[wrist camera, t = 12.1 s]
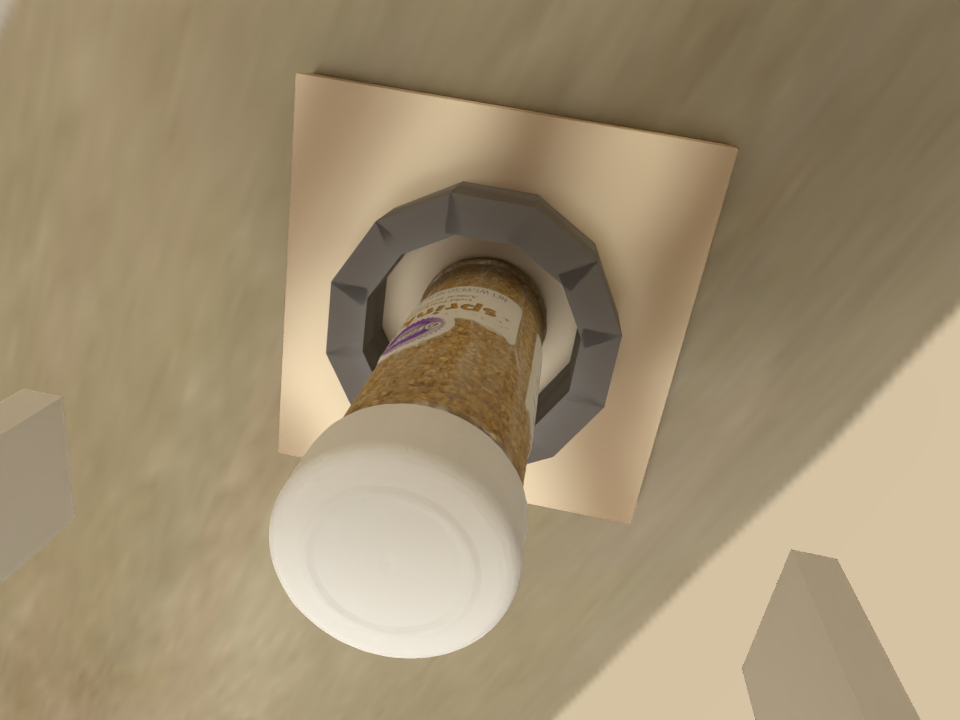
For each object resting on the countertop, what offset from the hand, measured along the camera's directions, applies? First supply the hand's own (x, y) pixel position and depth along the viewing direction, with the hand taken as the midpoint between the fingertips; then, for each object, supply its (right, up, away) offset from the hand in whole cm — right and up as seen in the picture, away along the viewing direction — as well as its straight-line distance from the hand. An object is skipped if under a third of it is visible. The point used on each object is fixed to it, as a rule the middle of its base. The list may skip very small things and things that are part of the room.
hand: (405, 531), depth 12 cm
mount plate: (+1, +5, +13) cm, 14 cm away
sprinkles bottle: (+1, +5, +12) cm, 13 cm away
